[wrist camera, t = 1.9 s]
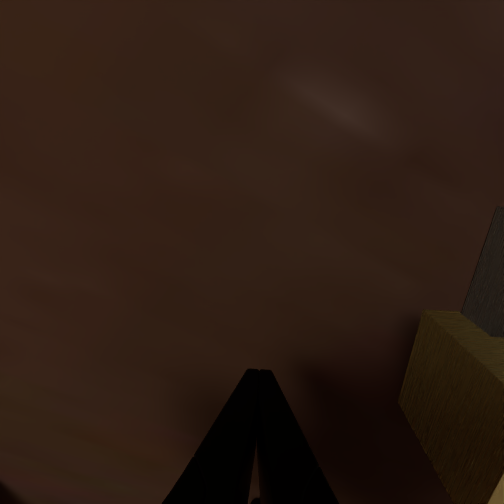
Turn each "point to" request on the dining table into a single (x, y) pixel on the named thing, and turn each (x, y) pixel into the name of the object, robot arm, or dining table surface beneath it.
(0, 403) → the dining table surface
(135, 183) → the dining table surface
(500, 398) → the key
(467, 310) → the socket
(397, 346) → the dining table surface
